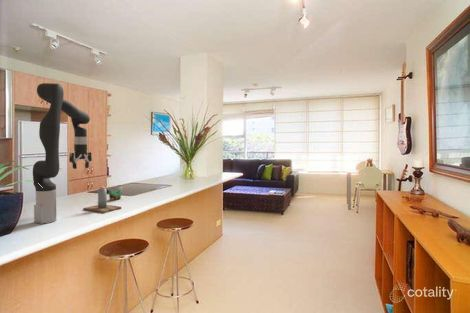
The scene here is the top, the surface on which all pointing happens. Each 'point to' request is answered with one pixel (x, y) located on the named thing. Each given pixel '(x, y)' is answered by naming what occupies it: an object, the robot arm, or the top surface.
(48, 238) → the top surface
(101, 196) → the slate bottle
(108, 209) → the walnut board
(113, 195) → the food container
